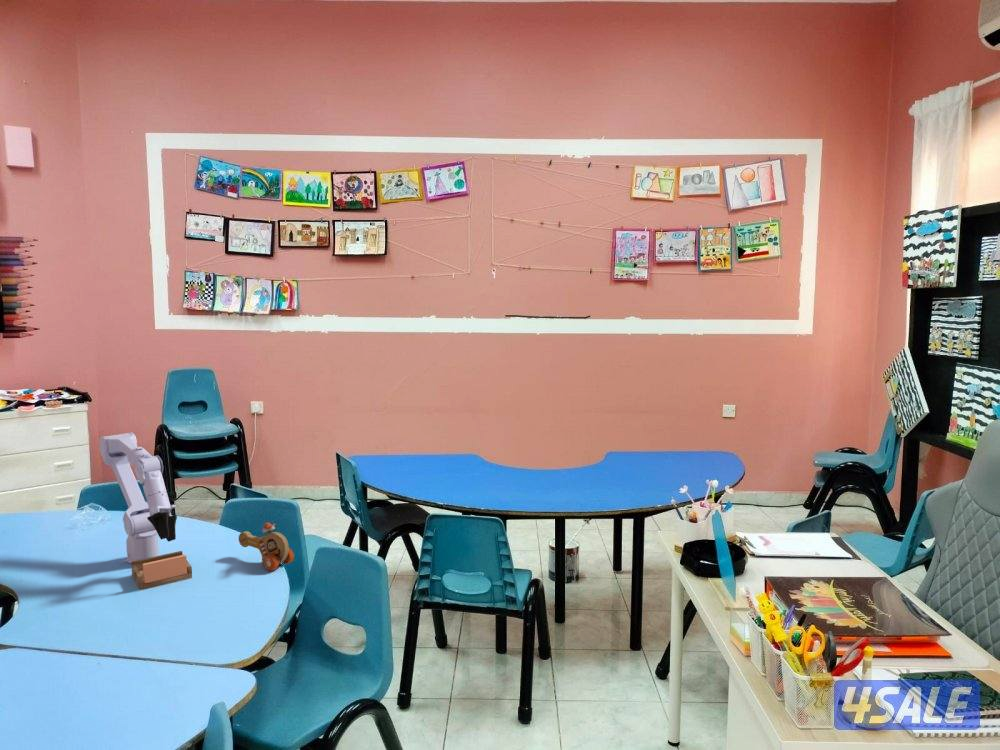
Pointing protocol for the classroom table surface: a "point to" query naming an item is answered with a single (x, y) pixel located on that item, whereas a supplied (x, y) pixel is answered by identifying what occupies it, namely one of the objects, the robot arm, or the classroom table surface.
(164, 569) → the orange rectangular block
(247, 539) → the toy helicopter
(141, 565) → the open wooden crate
